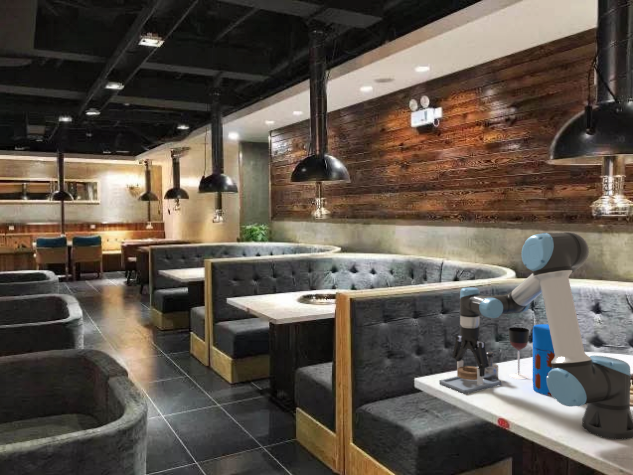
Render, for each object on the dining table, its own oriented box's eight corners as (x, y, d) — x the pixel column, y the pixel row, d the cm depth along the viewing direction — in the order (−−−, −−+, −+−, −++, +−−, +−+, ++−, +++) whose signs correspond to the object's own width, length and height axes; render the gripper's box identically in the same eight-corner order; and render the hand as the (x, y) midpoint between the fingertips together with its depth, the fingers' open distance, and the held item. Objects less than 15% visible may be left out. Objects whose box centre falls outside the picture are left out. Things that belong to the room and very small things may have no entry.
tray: (500, 384, 212) (500, 381, 212) (464, 394, 202) (464, 390, 202) (474, 375, 224) (474, 371, 224) (439, 384, 214) (439, 380, 214)
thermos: (566, 396, 198) (566, 330, 196) (535, 394, 200) (536, 330, 198) (558, 386, 208) (559, 324, 207) (530, 385, 211) (530, 323, 209)
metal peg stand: (499, 382, 214) (499, 355, 213) (481, 381, 216) (481, 354, 215) (498, 377, 221) (498, 351, 220) (480, 376, 223) (480, 350, 222)
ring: (483, 380, 207) (483, 374, 206) (457, 379, 209) (457, 372, 209) (482, 373, 216) (482, 367, 216) (457, 371, 219) (457, 365, 218)
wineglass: (509, 379, 219) (510, 331, 218) (507, 372, 227) (507, 326, 226) (530, 380, 217) (530, 332, 216) (527, 373, 225) (527, 327, 224)
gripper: (498, 330, 203) (498, 386, 205) (456, 319, 223) (456, 371, 224) (485, 332, 200) (485, 390, 201) (443, 322, 219) (443, 374, 221)
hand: (470, 380), depth 213 cm, fingers closed on ring, 10 cm apart
